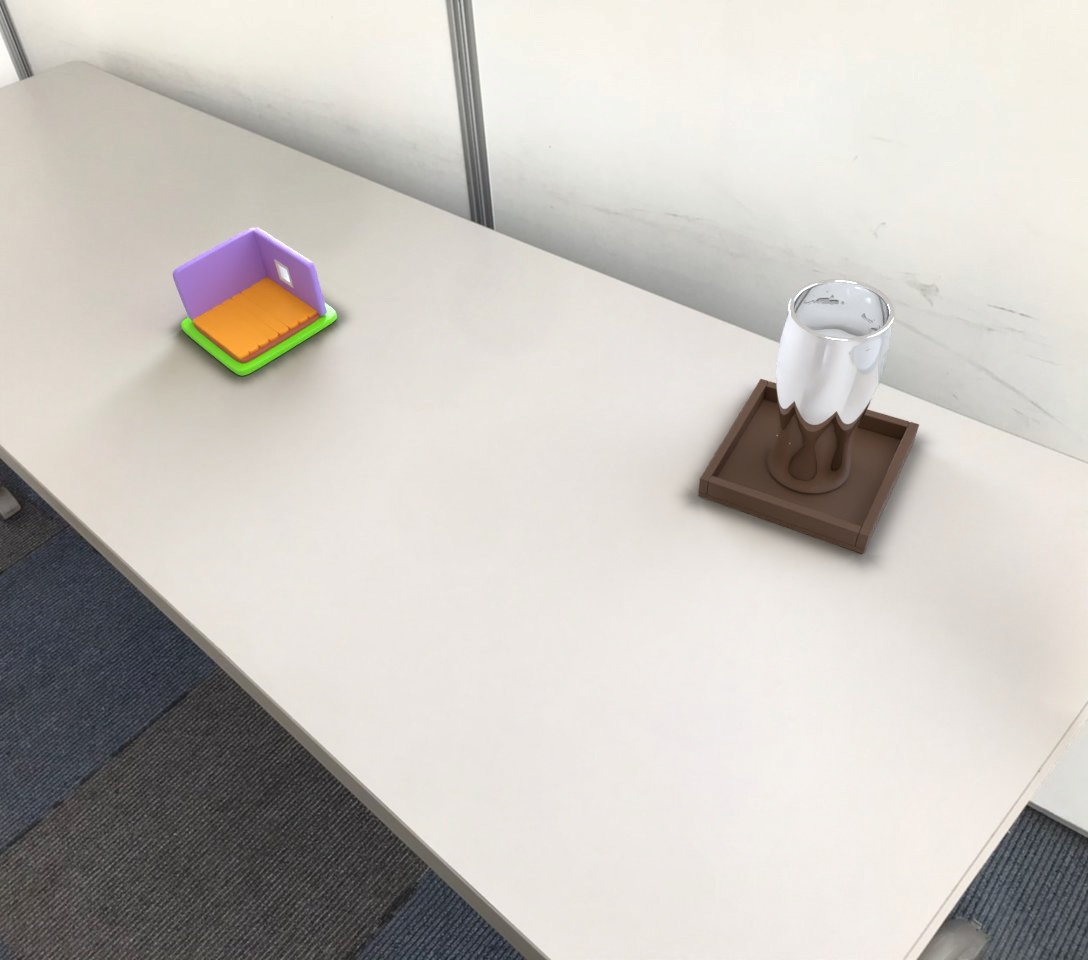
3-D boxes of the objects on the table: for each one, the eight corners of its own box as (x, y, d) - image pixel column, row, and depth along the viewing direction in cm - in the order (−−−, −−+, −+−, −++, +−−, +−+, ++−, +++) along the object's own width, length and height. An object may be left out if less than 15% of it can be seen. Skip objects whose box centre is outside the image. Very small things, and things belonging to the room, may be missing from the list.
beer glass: (798, 420, 78) (828, 263, 67) (875, 463, 74) (921, 305, 63) (741, 466, 75) (763, 311, 64) (818, 513, 71) (855, 357, 60)
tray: (913, 442, 76) (919, 423, 74) (863, 554, 69) (868, 536, 68) (757, 396, 81) (760, 378, 80) (697, 496, 75) (699, 478, 73)
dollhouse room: (274, 272, 102) (257, 215, 97) (342, 318, 95) (327, 259, 90) (177, 328, 98) (154, 271, 93) (241, 380, 91) (220, 322, 86)
